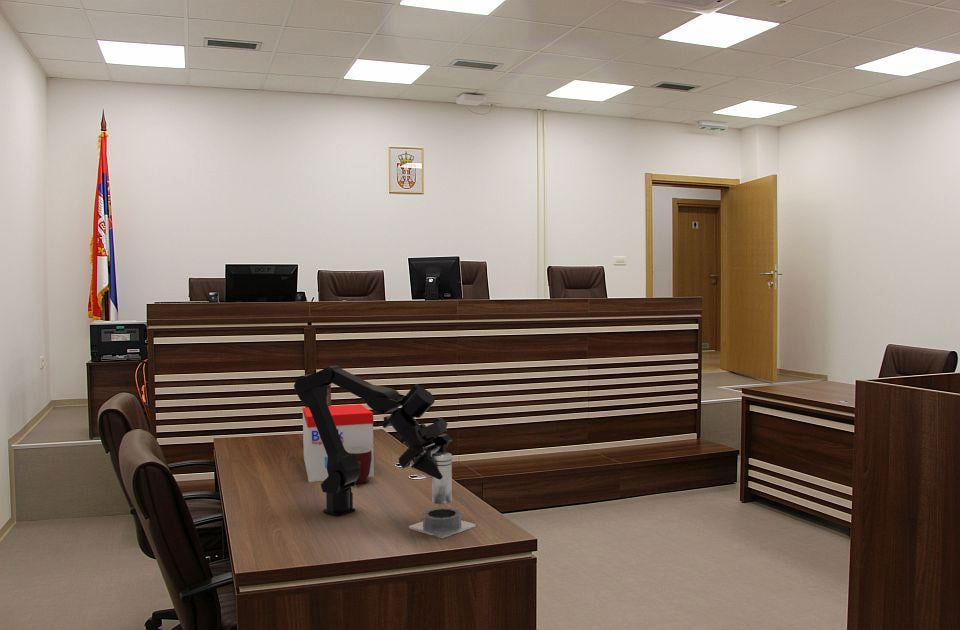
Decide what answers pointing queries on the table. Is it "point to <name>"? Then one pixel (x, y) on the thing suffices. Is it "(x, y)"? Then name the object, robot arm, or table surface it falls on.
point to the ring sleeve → (442, 523)
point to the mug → (362, 462)
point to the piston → (443, 486)
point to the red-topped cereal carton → (352, 430)
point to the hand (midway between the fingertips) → (446, 476)
